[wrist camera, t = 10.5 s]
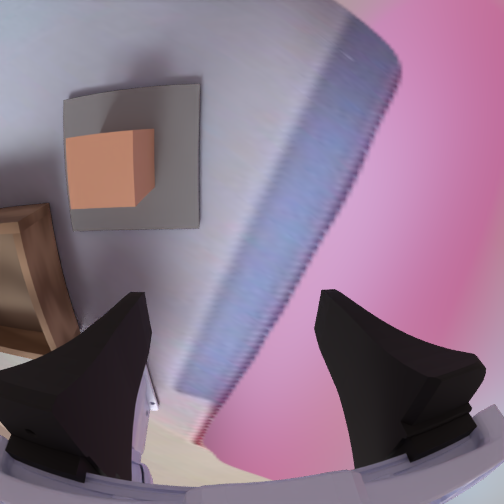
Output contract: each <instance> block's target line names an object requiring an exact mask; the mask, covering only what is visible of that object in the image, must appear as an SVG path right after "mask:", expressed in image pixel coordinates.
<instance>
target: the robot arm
mask: <svg viewBox="0 0 504 504" xmlns="http://www.w3.org/2000/svg"><path fill="white" fill-rule="evenodd" d="M314 330H315V333H316V338H317V341H318V345H319V348H320V351H321V353H322V356H323V358H324V360H325V363H326V365H327V367H328V369H329V372H330V374H331V377H332V379H333V381H334V384H335V386H336V388H337V391H338V394H339V397H340V400H341V404H342V407H343V411H344V415H345V419H346V423H347V427H348V431H349V436H350V442H351V447H352V453H353V459H354V466H355V469H354V470H341V471H334V472H327V473H321V474H316V475H310V476H304V477H298V478H291V479H285V480H275V481H265V482H253V483H234V484H218V485H205V486H201V487H183V486H168V485H157V484H153V479H152V475H151V473H150V471H149V469H148V467H147V466H146V465H145V464H143V463H140V462H141V455H142V454H143V452H144V448H145V441H146V434H147V427H148V421H149V414H150V410H154V411H156V410H158V409H159V405H158V402H157V399H156V396H155V393H154V389H153V386H152V383H151V379H150V376H149V372H148V369H147V365H146V361H147V358H148V354H149V348H150V341H151V334H152V331H151V326H150V321H149V315H148V310H147V304H146V298H145V292H130V293H129V294H127V295H126V296H125V297H124V298H123V299H122V300H121V301H119V302H118V303H117V304H116V305H115V306H114V307H113V308H112V309H110V310H109V311H108V312H107V313H106V314H105V315H104V316H102V317H101V318H100V319H99V320H97V321H96V322H95V323H94V324H92V325H91V326H90V327H89V328H87V329H86V330H85V331H84V332H82V333H81V334H79V335H78V336H76V337H75V338H73V339H72V340H70V341H69V342H67V343H65V344H64V345H62V346H60V347H58V348H56V349H55V350H53V351H51V352H49V353H47V354H45V355H43V356H41V357H38V358H36V359H34V360H31V361H29V362H26V363H23V364H20V365H17V366H14V367H10V368H7V369H3V370H0V422H1V423H2V424H3V425H4V426H5V427H6V429H7V430H8V431H9V432H10V433H11V436H10V439H9V440H7V439H6V438H5V437H3V436H1V435H0V504H444V503H446V502H448V501H449V500H451V499H453V498H454V497H456V496H458V495H459V494H461V493H463V492H464V491H466V490H467V489H469V488H470V487H472V486H474V485H475V484H477V483H478V482H479V481H481V480H482V479H484V478H485V477H487V476H488V475H489V474H490V473H491V472H493V471H494V470H495V469H496V468H497V467H499V466H500V465H501V464H502V463H503V462H504V417H503V415H502V414H501V412H500V411H499V410H498V408H497V406H496V405H495V404H494V405H491V406H490V407H488V408H486V409H484V410H482V411H481V412H479V413H477V414H476V415H475V416H474V417H473V418H472V417H471V416H470V414H469V412H470V411H471V410H472V407H471V406H470V404H469V403H468V402H469V401H470V399H471V398H472V397H473V395H474V394H475V392H476V391H477V389H478V388H479V386H480V385H481V383H482V382H483V380H484V377H485V374H486V368H485V366H484V365H483V364H482V362H481V361H480V360H479V359H478V357H477V356H476V355H475V354H472V353H466V352H461V351H456V350H451V349H447V348H444V347H440V346H437V345H434V344H431V343H428V342H425V341H422V340H420V339H417V338H415V337H413V336H411V335H408V334H406V333H404V332H402V331H400V330H398V329H396V328H394V327H392V326H391V325H389V324H387V323H386V322H384V321H382V320H381V319H379V318H377V317H376V316H374V315H373V314H371V313H370V312H368V311H367V310H365V309H364V308H362V307H361V306H359V305H358V304H356V303H355V302H354V301H352V300H351V299H349V298H348V297H346V296H345V295H344V294H342V293H341V292H339V291H337V290H335V289H330V290H321V296H320V301H319V306H318V312H317V317H316V322H315V327H314Z"/></svg>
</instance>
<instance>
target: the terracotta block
mask: <svg viewBox="0 0 504 504" xmlns="http://www.w3.org/2000/svg"><path fill="white" fill-rule="evenodd" d="M66 160H67V175H68V187H69V196H70V205H71V209H88V208H111V207H136V206H137V205H138V203H139V202H140V201H141V200H142V199H143V198H144V197H145V196H146V195H147V194H148V193H149V192H150V191H151V190H152V189H153V188H154V187H155V169H154V129H141V130H128V131H117V132H108V133H99V134H91V135H84V136H77V137H70V138H66Z"/></svg>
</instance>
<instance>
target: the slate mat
mask: <svg viewBox="0 0 504 504" xmlns="http://www.w3.org/2000/svg"><path fill="white" fill-rule="evenodd" d="M199 109H200V84H182V85H165V86H152V87H142V88H133V89H125V90H117V91H110V92H104V93H98V94H92V95H87V96H81V97H76V98H72V99H67V100H64V106H63V130H64V156H65V171H66V182H67V192H68V200H69V208H70V215H71V222H72V228H73V231H100V230H139V229H199ZM141 129H154V169H155V187H154V188H153V189H152V190H151V191H150V192H149V193H148V194H147V195H146V196H145V197H144V198H143V199H142V200H141V201H140V202H139V203H138V205H137V206H136V207H111V208H88V209H71V205H70V196H69V187H68V175H67V160H66V138H70V137H77V136H84V135H91V134H99V133H108V132H117V131H128V130H141Z"/></svg>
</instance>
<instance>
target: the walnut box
mask: <svg viewBox="0 0 504 504" xmlns="http://www.w3.org/2000/svg"><path fill="white" fill-rule="evenodd" d="M80 333H81V332H80V329H79V326H78V323H77V320H76V317H75V314H74V311H73V308H72V305H71V301H70V298H69V295H68V291H67V287H66V284H65V280H64V276H63V272H62V268H61V264H60V260H59V255H58V251H57V246H56V241H55V236H54V231H53V225H52V219H51V213H50V206H49V203H43V204H33V205H23V206H15V207H6V208H0V352H3V353H8V354H12V355H16V356H21V357H25V358H30V359H36V358H38V357H41V356H43V355H45V354H47V353H49V352H51V351H53V350H55V349H56V348H58V347H60V346H62V345H64V344H65V343H67V342H69V341H70V340H72V339H73V338H75V337H76V336H78V335H79V334H80Z"/></svg>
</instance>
